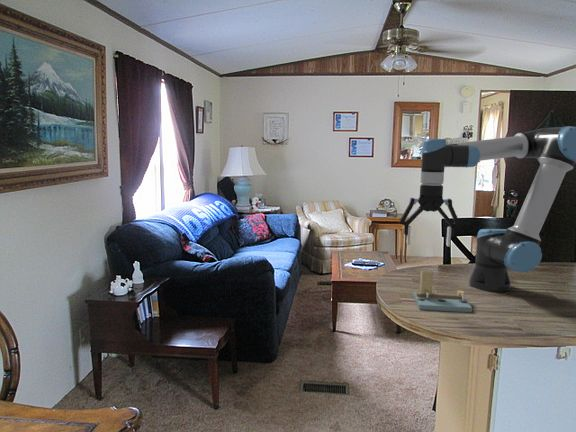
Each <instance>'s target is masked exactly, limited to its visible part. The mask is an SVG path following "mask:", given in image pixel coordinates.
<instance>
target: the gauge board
mask: <svg viewBox="0 0 576 432" xmlns="http://www.w3.org/2000/svg"><path fill="white" fill-rule="evenodd" d="M412 292H413V294H412V297H413V298H414V301H415V303H416V305H417V307H418V308H417V309H418V310H422V311H423V310H426V311H442V312H443V311H444V312H460V313H461V312H462V313H473V307H472V305H471V304H470V303H469V301H467V299H466V292H465V291H464V290H457V291H456V293H444V292H432V295H429V299H426V294H421V293H420V291H412Z"/></svg>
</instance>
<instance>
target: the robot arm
mask: <svg viewBox="0 0 576 432" xmlns="http://www.w3.org/2000/svg"><path fill="white" fill-rule="evenodd" d="M421 149H422V150H421V169H420V170H421V172H420V183H421V184H420V185H419V197H418V198H416V197H415V198H414V197H410V198H409V204H408V205H407V207H406V209H405V210H404V212H403V214H402V215H401V217H400V219H399V221H398V222H399V224H400V225H403V226H404V229H403V235H405V236H406V245H407V246H410V245H411V243H410V242H411V225H410V224H411V223H412V222H413V221H414V220H415V219H416V218H418V216H419V215H420V214H421V213H423V211H424V212H434V213H435V212H437V211H438V212H437V213H439V214H440V215H441V216H442V218H443V219H444V220H445V222H446V223H447V224H448V225H449V226H447V228H446V243H445V244H446V246H447V247H449V248H450V247H451V239H452V237H454V236H455V228H456V227H460V226H461V222H460V220H459V218H458V215H457V214H456V211H455V209H454V206H453V199H452V198H448V197H447V199H444V198H443V193H444V186H443V184H444V178H445V168H474V167H476V166H477V165H478V164H479V162H481V161H489V160H496V159H505V158H513V157H516V158H517V159H527V158H528V159H537V160H538V162H539V167H538V169H537V172H536V174H535V176H534V179H533V181H532V183H531V185H530V188H529V190H528V192H527V194H526V197H525V198H524V201H523V204H522V206H521V208H520V211H519V212H518V215H517V217H516V220H515V222H514V224H513V225H512V226H510V227H507V229H506V228H503V229H502V228H481V229H479V231H478V232H477V235H476V251H475V263H474V268H473V269H472V272H471V274H470V276H469V278H468V279H469V282H468V284H469V286H471V287H472V288H475V289H478V290H480V291H487V292H494V293H501V292H507V291H510V290H511V288H512V281H511V278H510V275H509V271H508V270H510V271H512V272H517V273H528V272H530V271H533V270H535V268H536V267H538V265H540V263H541V261H542V257H543V252H542V248H541V247H540V244H541V242H542V239H541V237H540V232H541V230H542V227H543V225H544V223H545V222H546V219H547V217H548V215H549V212H550V209H552V208H551V207H552V205H553V203H554V201H555V199H556V196H557V194H558V192H559V189H560V187H561V184H562V182H563V180H564V178H565V175H566V173H568V172H570V171H572V170H573V169H574V168H575V165H576V126H572V125H571V126H570V125H567V126H557V127H556V126H554V127H543V128H537V129H534V130H529V131H524V132H517V133H516V134H514V136H507V137H506V136H505V137H497V138H490V139H481V140H473V141H465V142H464V141H463V142H457V143H449V144H447V140H446V139H445V138H426V139H424V140H423V142H422V148H421ZM417 203H418V205H420V206H418V208H417V209H416V210H415V211H414V212H413V213H412V214H411V215H410V213H411V211H412V209H413V208H414V206H415V205H416V204H417ZM443 204H444V205H445V206H447V209H448V210H449V213H450V215H451V218H452V219H453V221H452V220H451V219H450V217H449V216H448V215H447V214H446V213H445V210H443V209H442V206H443ZM409 215H410V216H409ZM408 216H409V217H408Z"/></svg>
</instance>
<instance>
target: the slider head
mask: <svg viewBox="0 0 576 432" xmlns="http://www.w3.org/2000/svg"><path fill="white" fill-rule="evenodd" d="M419 276H420V278H419V279H420V281H419V292H420V293H421V294H426V299H429V295H432V293H433V281H434V280H433V279H434V277H433V276H434V272H433V270H432V269H420V275H419Z"/></svg>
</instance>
